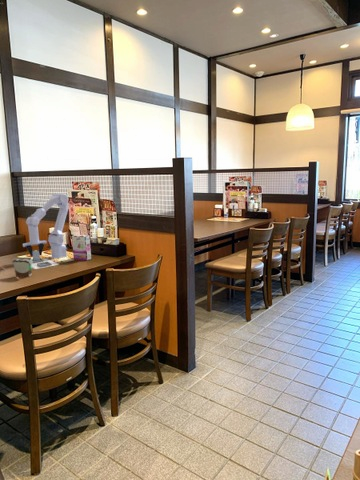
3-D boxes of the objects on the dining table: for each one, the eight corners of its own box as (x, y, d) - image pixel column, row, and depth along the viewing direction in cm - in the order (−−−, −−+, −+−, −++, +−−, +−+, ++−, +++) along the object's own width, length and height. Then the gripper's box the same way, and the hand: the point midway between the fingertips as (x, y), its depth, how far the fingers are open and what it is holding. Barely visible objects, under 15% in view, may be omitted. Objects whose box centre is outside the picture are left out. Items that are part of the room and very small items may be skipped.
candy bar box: (91, 259, 235) (90, 235, 232) (87, 260, 231) (85, 236, 227) (78, 258, 239) (76, 234, 236) (73, 259, 235) (71, 235, 232)
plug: (39, 259, 232) (38, 249, 231) (39, 260, 229) (38, 250, 228) (33, 259, 231) (32, 249, 230) (33, 261, 227) (32, 251, 226)
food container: (39, 274, 201) (37, 257, 199) (31, 277, 196) (29, 260, 194) (21, 273, 205) (20, 256, 203) (13, 276, 200) (11, 259, 198)
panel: (45, 259, 239) (45, 256, 238) (59, 265, 221) (59, 262, 220) (22, 263, 229) (22, 260, 229) (35, 270, 211) (34, 267, 211)
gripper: (43, 233, 234) (45, 253, 237) (20, 236, 225) (22, 256, 228) (46, 234, 229) (48, 254, 232) (23, 237, 220) (26, 258, 222)
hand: (36, 255), depth 229 cm, fingers closed on plug, 5 cm apart
